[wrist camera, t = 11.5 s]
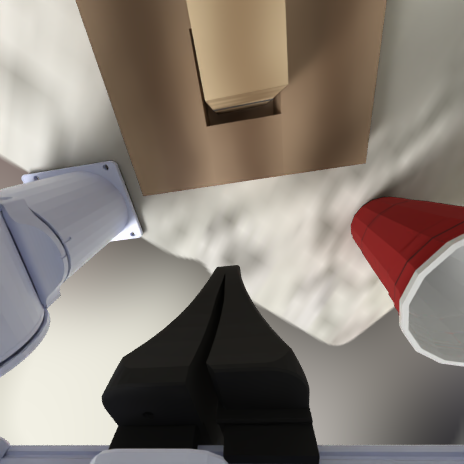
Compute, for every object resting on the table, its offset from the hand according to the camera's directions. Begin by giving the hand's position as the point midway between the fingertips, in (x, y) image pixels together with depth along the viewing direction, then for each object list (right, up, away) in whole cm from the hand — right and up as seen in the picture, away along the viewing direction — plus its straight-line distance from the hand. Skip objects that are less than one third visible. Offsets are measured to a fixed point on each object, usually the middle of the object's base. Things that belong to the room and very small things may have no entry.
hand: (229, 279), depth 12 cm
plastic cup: (+16, +4, +10) cm, 19 cm away
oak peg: (+1, +15, +4) cm, 15 cm away
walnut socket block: (+1, +15, +4) cm, 15 cm away
